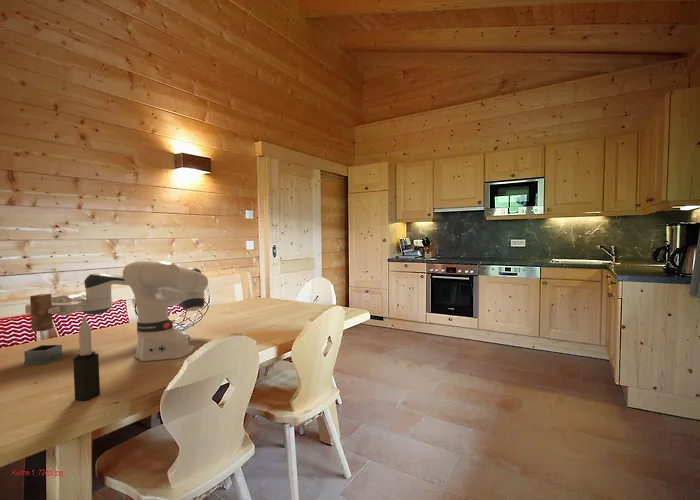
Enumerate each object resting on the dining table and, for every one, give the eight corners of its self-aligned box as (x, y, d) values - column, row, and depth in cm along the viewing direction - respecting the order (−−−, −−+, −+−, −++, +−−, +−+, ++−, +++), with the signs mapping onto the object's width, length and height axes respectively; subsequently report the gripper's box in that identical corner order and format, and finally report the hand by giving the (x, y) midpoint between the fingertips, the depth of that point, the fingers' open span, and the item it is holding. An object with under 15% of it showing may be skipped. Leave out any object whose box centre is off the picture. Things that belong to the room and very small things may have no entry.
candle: (86, 401, 106) (83, 318, 105) (72, 400, 107) (69, 318, 106) (101, 393, 111) (98, 314, 110) (88, 392, 112) (85, 314, 111)
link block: (52, 328, 144) (51, 294, 143) (43, 331, 139) (42, 295, 139) (41, 328, 144) (39, 294, 143) (31, 331, 139) (30, 296, 139)
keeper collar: (63, 356, 147) (62, 344, 146) (46, 363, 138) (45, 351, 138) (42, 356, 146) (41, 344, 146) (23, 364, 138) (23, 351, 137)
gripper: (90, 311, 155) (67, 318, 141) (42, 312, 154) (13, 319, 140) (90, 297, 154) (66, 303, 141) (41, 298, 154) (12, 304, 140)
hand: (39, 311), depth 140 cm, fingers closed on link block, 4 cm apart
